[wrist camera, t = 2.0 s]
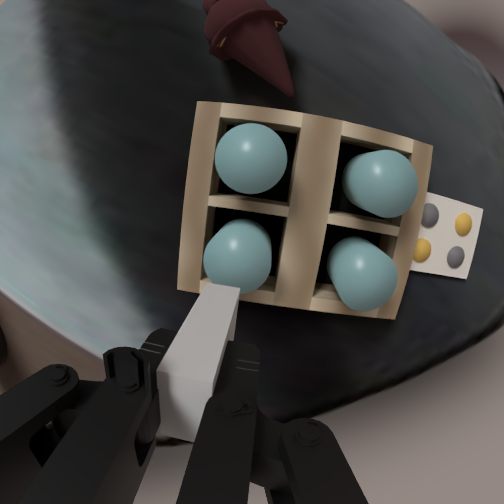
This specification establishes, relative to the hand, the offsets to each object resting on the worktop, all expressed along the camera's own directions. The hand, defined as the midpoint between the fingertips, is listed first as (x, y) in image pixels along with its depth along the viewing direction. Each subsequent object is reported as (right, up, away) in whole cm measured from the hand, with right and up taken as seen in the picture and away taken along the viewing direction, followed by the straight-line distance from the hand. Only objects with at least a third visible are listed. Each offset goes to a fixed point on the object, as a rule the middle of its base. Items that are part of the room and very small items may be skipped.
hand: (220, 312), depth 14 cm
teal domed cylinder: (+10, +2, +12) cm, 16 cm away
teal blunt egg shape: (+2, +10, +10) cm, 15 cm away
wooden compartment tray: (+6, +7, +14) cm, 17 cm away
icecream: (+1, +22, +10) cm, 25 cm away
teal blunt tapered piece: (+11, +9, +10) cm, 17 cm away
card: (+21, +4, +13) cm, 25 cm away
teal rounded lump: (+1, +3, +12) cm, 13 cm away
